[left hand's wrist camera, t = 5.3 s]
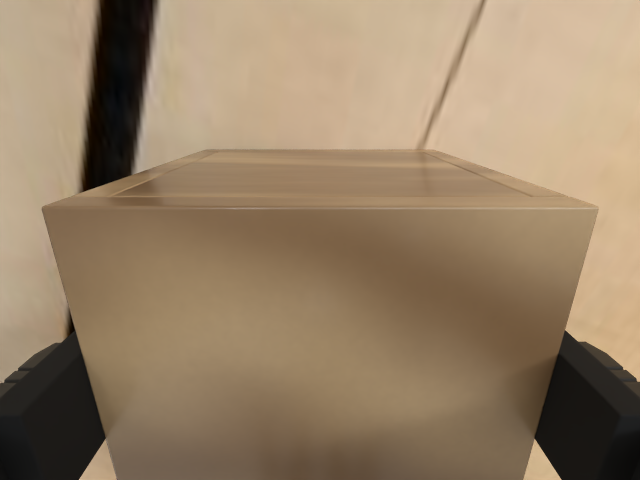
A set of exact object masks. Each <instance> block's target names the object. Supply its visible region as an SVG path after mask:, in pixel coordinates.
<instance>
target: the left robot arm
mask: <svg viewBox="0 0 640 480" xmlns="http://www.w3.org/2000/svg"><path fill="white" fill-rule="evenodd" d="M105 439H106V438H105V434H104V431H103V427H102V424H101V420H100V416H99V413H98V409H97V406H96V402H95V398H94V395H93V391H92V388H91V384H90V380H89V377H88V373H87V370H86V366H85V363H84V359H83V355H82V352H81V348H80V345H79V341H78V337H77V334H76V330H75V331H74V332H73V333H72V334H71V335H69V336H68V337H67V338H66V339H65V340H64V341H63V342H62V343H54V344H53V345H51V346H49V347H47V348H45V349H44V350H42V351H40V352H38V353H36V354H35V355H33V356H32V357H31V358H30V359H29V360H27V361H26V362H25V363H24V364H23V365H22V366H20V367H19V368H18V371H15V372H13V373H12V374H11V375H10V376H9V377H8V378H6V379H5V382H4V383H1V384H0V480H79V478H80V477H81V475H82V474H83V472H84V471H85V469H86V468H87V466H88V465H89V463H90V462H91V460H92V459H93V457H94V456H95V454H96V452H97V451H98V449H99V448H100V446H101V445H102V443H103V442H104V440H105ZM535 440H536V441H537V443H538V444H539V446H540V447H541V449H542V450H543V452H544V453H545V455H546V456H547V458H548V460H549V461H550V463H551V464H552V466H553V467H554V469H555V470H556V472H557V473H558V475H559V476H560V478H561V479H562V480H640V382H637V380H636V378H635V377H634V376H633V375H631V374H630V373H629V372H628V371H627V370H623V367H622V366H621V365H620V364H618V363H617V362H616V361H615V360H614V359H612V358H611V357H610V356H609V355H608V354H607V353H605V352H603V351H601V350H599V349H598V348H596V347H594V346H592V345H590V344H589V343H587V342H578V341H577V340H575V339H574V338H573V337H572V336H571V335H570V334H569V333H568V332H567V331H564V335H563V339H562V342H561V346H560V349H559V353H558V356H557V360H556V364H555V367H554V371H553V374H552V378H551V382H550V385H549V389H548V392H547V396H546V399H545V403H544V407H543V410H542V414H541V417H540V421H539V424H538V428H537V432H536V435H535Z"/></svg>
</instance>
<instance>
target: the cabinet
mask: <svg viewBox="0 0 640 480" xmlns="http://www.w3.org/2000/svg"><path fill="white" fill-rule="evenodd" d="M598 210H599V208H598V206H595V205H592V204H590V203H587V202H584V201H581V200H578V199H575V198H572V197H568V196H566V195H563V194H560V193H557V192H554V191H551V190H548V189H546V188H543V187H540V186H537V185H534V184H531V183H528V182H525V181H522V180H520V179H517V178H514V177H511V176H508V175H505V174H502V173H499V172H497V171H494V170H491V169H488V168H485V167H482V166H479V165H476V164H473V163H471V162H468V161H465V160H462V159H459V158H456V157H453V156H450V155H448V154H445V153H442V152H439V151H436V150H204V151H201V152H198V153H195V154H192V155H189V156H186V157H183V158H180V159H177V160H175V161H172V162H169V163H166V164H163V165H160V166H157V167H154V168H152V169H149V170H146V171H143V172H140V173H137V174H134V175H131V176H129V177H126V178H123V179H120V180H117V181H114V182H111V183H108V184H105V185H103V186H100V187H97V188H94V189H91V190H88V191H85V192H82V193H80V194H77V195H74V196H71V197H68V198H65V199H63V200H60V201H57V202H54V203H51V204H48V205H45V206H43V207H42V212H43V215H44V219H45V223H46V226H47V230H48V233H49V237H50V241H51V244H52V248H53V251H54V255H55V259H56V262H57V266H58V269H59V273H60V276H61V280H62V284H63V287H64V291H65V294H66V298H67V302H68V305H69V309H70V312H71V316H72V319H73V323H74V327H75V330H76V334H77V337H78V341H79V345H80V348H81V352H82V355H83V359H84V363H85V366H86V370H87V373H88V377H89V380H90V384H91V388H92V391H93V395H94V398H95V402H96V406H97V409H98V413H99V416H100V420H101V424H102V427H103V431H104V434H105V438H106V441H107V445H108V449H109V452H110V456H111V459H112V463H113V467H114V470H115V474H116V477H117V480H523V478H524V475H525V471H526V467H527V464H528V460H529V457H530V453H531V450H532V446H533V442H534V439H535V435H536V432H537V428H538V424H539V421H540V417H541V414H542V410H543V407H544V403H545V399H546V396H547V392H548V389H549V385H550V382H551V378H552V374H553V371H554V367H555V364H556V360H557V356H558V353H559V349H560V346H561V342H562V339H563V335H564V331H565V328H566V324H567V321H568V317H569V314H570V310H571V306H572V303H573V299H574V296H575V292H576V288H577V285H578V281H579V278H580V274H581V271H582V267H583V263H584V260H585V256H586V253H587V249H588V245H589V242H590V238H591V235H592V231H593V228H594V224H595V220H596V217H597V213H598Z"/></svg>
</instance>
